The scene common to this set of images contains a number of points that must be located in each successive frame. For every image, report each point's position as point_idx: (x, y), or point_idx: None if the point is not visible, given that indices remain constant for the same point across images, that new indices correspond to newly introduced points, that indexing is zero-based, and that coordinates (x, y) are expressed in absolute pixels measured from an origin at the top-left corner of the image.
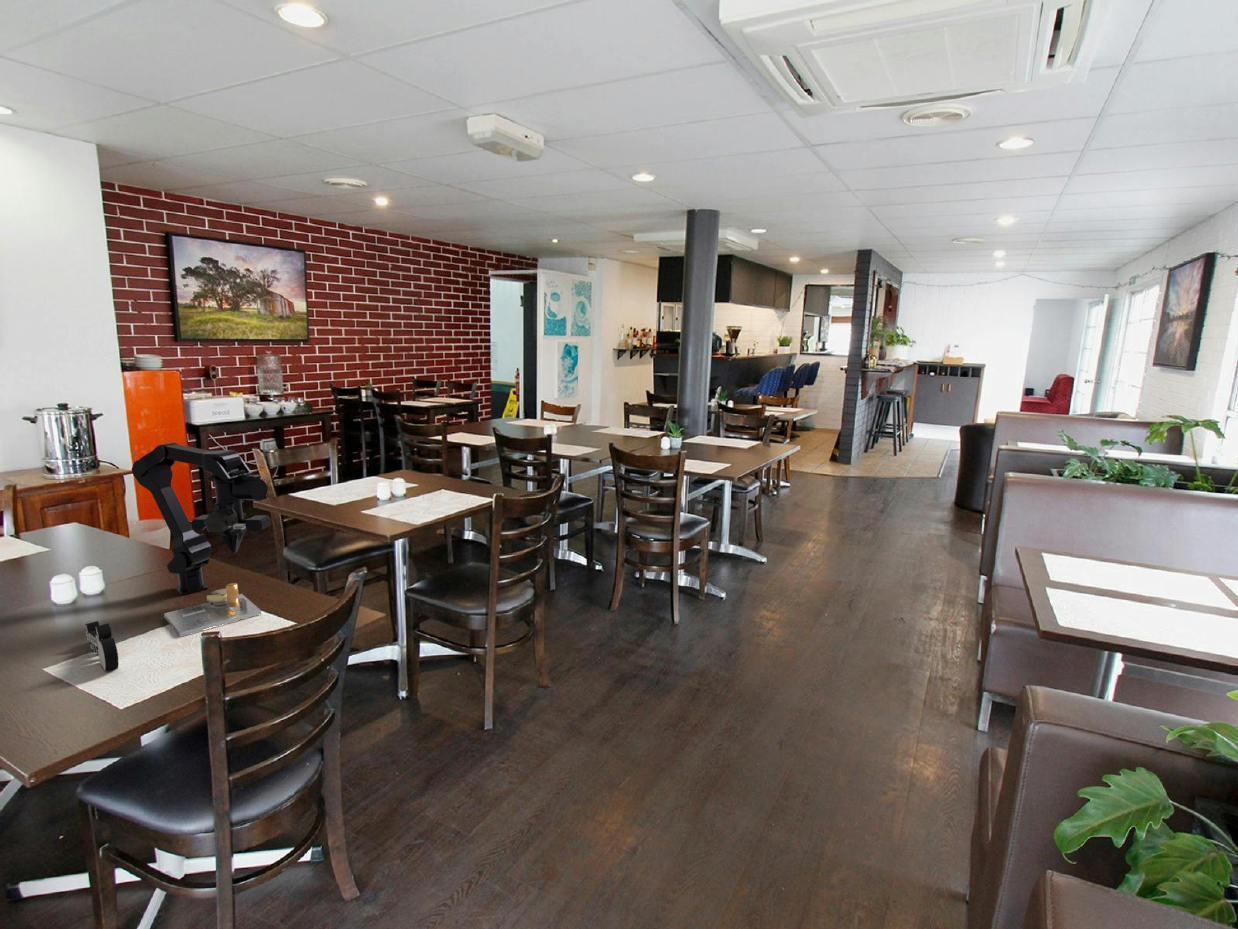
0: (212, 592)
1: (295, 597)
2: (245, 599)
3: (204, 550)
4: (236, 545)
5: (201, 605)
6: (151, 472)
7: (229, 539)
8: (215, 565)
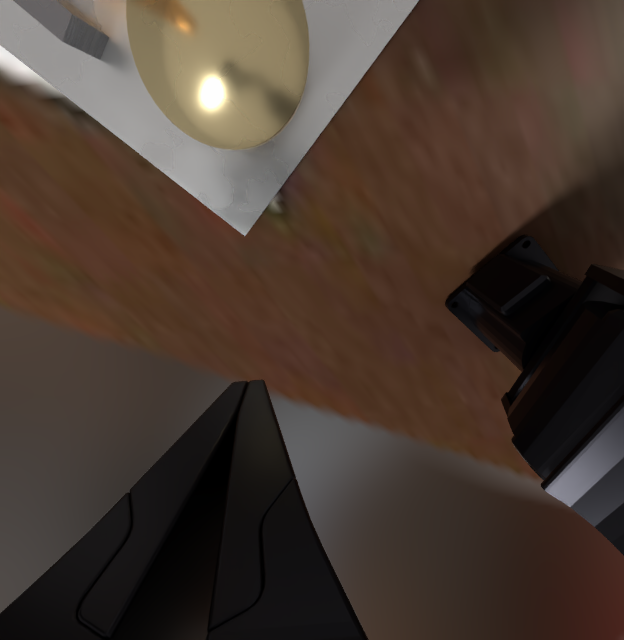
0: (291, 58)
1: (26, 260)
2: (172, 166)
3: (567, 436)
4: (172, 453)
5: (351, 51)
6: None
7: (221, 548)
8: (503, 460)
